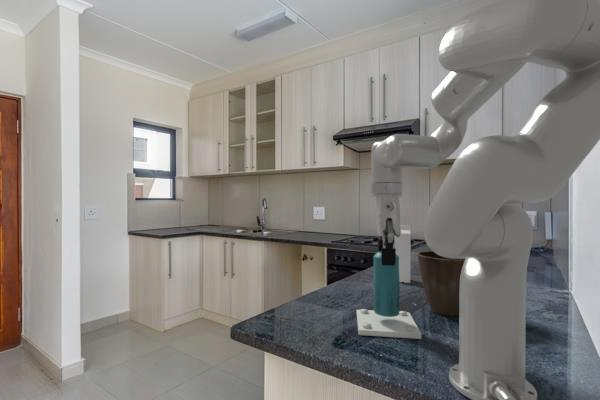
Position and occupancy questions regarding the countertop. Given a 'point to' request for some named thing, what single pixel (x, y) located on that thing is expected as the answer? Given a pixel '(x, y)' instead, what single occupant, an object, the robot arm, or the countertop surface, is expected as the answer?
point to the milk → (404, 253)
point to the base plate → (387, 325)
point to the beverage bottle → (386, 286)
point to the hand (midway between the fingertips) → (386, 261)
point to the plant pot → (441, 282)
